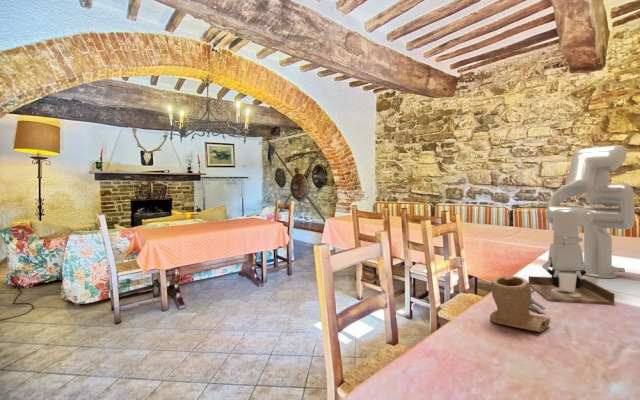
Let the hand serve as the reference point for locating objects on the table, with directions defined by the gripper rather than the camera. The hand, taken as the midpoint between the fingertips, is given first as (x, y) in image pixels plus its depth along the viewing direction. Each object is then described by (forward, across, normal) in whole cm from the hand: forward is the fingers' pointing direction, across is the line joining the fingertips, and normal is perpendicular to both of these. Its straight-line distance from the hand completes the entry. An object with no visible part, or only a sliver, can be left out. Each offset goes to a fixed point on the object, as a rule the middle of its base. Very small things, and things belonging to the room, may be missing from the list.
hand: (565, 286), depth 117 cm
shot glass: (+1, 0, 0) cm, 1 cm away
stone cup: (+3, +27, +32) cm, 42 cm away
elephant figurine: (+4, +18, +17) cm, 25 cm away
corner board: (+3, -1, -1) cm, 4 cm away
